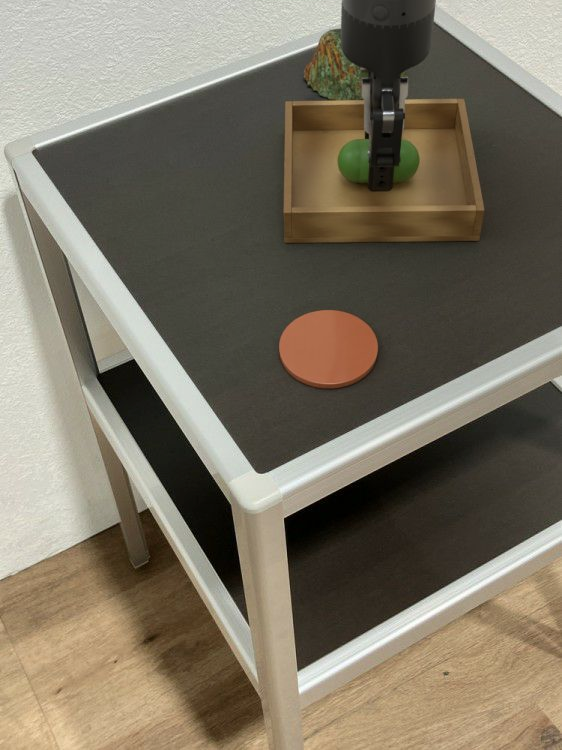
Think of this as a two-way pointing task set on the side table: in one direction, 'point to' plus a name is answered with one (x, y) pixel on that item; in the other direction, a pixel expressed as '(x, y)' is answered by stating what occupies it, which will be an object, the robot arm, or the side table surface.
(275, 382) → the side table surface
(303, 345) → the plate
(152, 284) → the side table surface
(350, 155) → the cucumber
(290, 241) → the wooden tray
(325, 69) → the seashell
